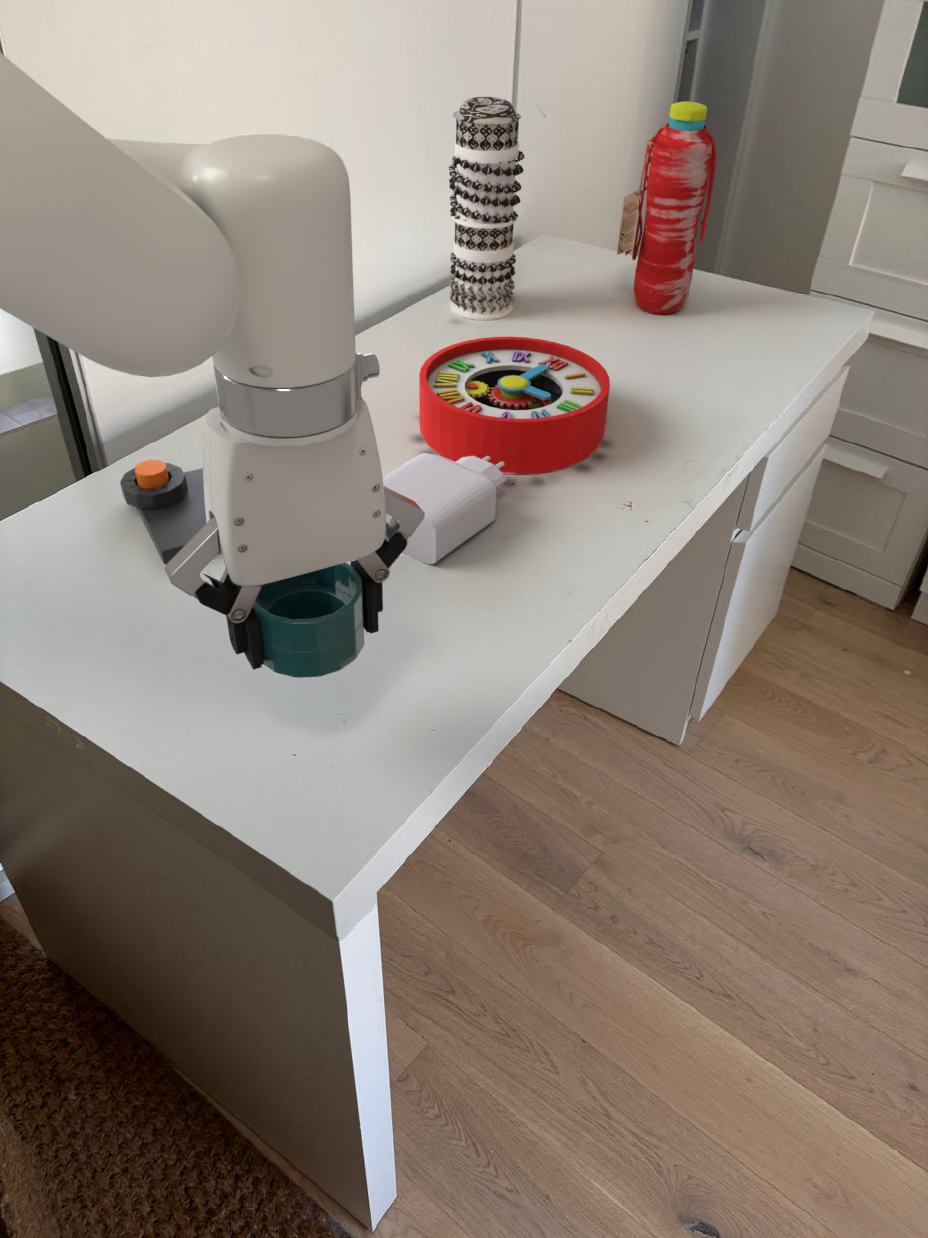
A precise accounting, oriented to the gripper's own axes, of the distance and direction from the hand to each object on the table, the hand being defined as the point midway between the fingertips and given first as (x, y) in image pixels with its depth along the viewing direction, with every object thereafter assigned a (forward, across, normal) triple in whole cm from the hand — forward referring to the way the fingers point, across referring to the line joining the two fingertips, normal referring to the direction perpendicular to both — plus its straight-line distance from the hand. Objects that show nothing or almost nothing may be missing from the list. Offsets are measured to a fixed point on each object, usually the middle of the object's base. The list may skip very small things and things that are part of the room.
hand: (309, 636), depth 64 cm
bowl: (+1, 0, 0) cm, 1 cm away
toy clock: (+9, -36, -33) cm, 49 cm away
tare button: (+7, +2, -34) cm, 35 cm away
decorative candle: (+8, -49, -63) cm, 80 cm away
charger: (+9, -22, -21) cm, 31 cm away
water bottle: (+8, -70, -54) cm, 88 cm away
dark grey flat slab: (+9, -3, -31) cm, 32 cm away
